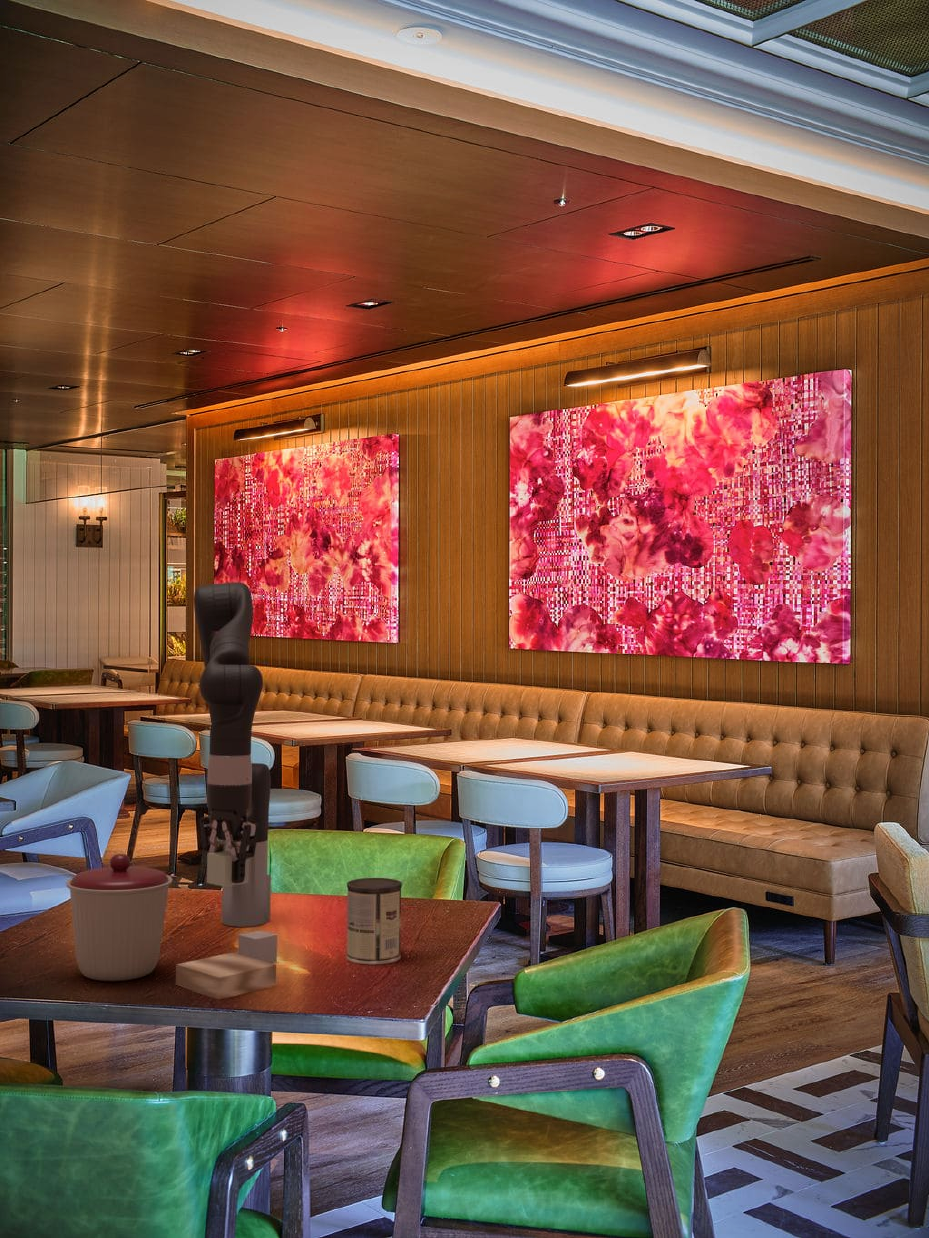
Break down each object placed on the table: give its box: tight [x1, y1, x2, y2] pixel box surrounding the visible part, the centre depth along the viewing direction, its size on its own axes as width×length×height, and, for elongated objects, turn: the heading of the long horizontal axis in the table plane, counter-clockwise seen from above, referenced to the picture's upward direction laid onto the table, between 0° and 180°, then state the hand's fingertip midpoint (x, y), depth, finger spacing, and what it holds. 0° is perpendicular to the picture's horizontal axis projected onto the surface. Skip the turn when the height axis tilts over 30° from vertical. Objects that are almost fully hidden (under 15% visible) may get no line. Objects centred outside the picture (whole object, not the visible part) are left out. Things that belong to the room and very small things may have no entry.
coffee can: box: [346, 877, 403, 966], centre depth 235 cm, size 10×10×14 cm
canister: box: [65, 853, 173, 982], centre depth 221 cm, size 18×18×21 cm
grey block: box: [237, 930, 278, 964], centre depth 231 cm, size 5×5×5 cm
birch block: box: [175, 952, 277, 1001], centre depth 215 cm, size 12×12×4 cm
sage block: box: [206, 850, 249, 887], centre depth 215 cm, size 5×5×5 cm
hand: (227, 879), depth 215 cm, fingers closed on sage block, 5 cm apart
